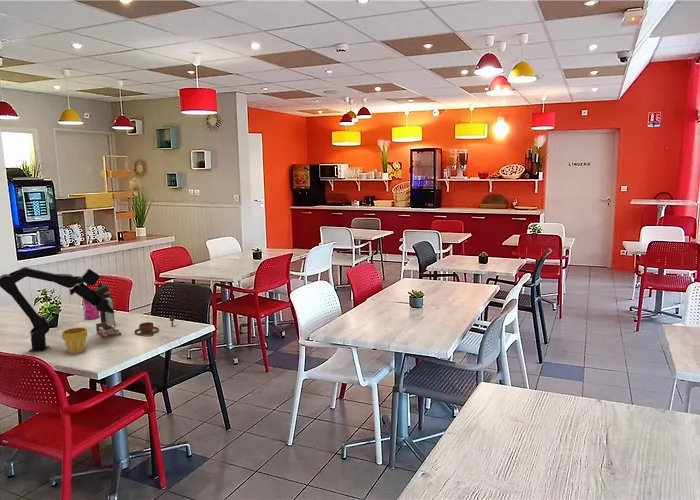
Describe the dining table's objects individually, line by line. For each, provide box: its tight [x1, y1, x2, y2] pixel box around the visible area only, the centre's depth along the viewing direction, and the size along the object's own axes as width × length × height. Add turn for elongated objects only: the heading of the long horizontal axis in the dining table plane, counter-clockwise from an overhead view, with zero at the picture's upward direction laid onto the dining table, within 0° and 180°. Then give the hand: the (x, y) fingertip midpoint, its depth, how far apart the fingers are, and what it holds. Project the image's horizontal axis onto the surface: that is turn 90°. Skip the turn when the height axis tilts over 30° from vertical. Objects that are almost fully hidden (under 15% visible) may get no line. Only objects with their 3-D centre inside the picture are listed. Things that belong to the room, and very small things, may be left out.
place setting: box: [133, 315, 175, 338], centre depth 270 cm, size 18×20×6 cm
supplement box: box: [81, 299, 100, 321], centre depth 295 cm, size 6×6×12 cm
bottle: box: [99, 288, 116, 323], centre depth 280 cm, size 7×7×20 cm
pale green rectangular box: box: [105, 298, 115, 326], centre depth 260 cm, size 6×2×13 cm, turn 37°
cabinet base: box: [95, 320, 123, 340], centre depth 266 cm, size 12×9×5 cm
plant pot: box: [61, 326, 88, 354], centre depth 241 cm, size 10×10×10 cm
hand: (112, 311), depth 261 cm, fingers closed on pale green rectangular box, 6 cm apart
